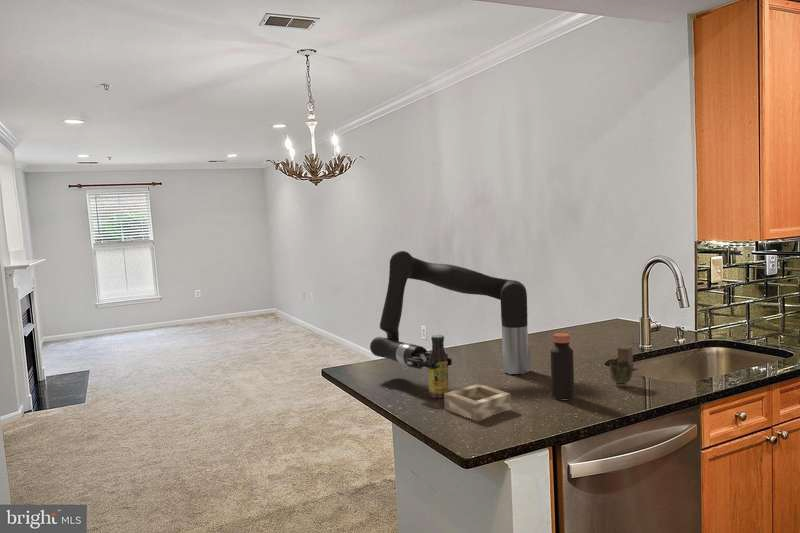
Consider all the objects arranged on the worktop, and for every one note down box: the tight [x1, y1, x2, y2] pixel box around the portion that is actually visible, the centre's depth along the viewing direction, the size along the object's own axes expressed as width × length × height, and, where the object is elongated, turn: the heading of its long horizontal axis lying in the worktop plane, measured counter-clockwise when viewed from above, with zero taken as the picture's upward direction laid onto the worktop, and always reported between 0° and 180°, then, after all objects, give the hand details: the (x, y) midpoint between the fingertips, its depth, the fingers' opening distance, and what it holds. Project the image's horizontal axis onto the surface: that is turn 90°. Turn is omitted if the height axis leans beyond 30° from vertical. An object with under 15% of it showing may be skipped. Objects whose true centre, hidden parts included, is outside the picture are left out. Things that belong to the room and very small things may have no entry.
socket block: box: [443, 383, 512, 422], centre depth 176 cm, size 14×14×5 cm
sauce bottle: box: [428, 334, 449, 399], centre depth 190 cm, size 6×6×20 cm
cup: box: [608, 359, 634, 388], centre depth 191 cm, size 8×7×8 cm
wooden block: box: [617, 345, 634, 364], centre depth 211 cm, size 4×4×8 cm
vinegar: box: [550, 332, 575, 400], centre depth 183 cm, size 7×7×20 cm
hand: (442, 364), depth 188 cm, fingers closed on sauce bottle, 6 cm apart
